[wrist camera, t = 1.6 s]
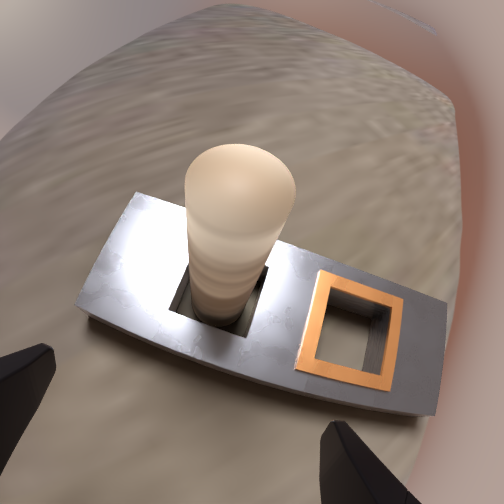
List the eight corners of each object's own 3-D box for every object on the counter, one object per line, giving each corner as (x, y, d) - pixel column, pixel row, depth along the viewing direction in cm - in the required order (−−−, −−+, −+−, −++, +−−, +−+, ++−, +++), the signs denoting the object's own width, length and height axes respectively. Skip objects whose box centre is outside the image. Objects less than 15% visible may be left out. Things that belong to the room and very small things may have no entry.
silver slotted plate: (427, 313, 26) (449, 301, 23) (413, 416, 21) (437, 415, 18) (141, 212, 25) (135, 189, 23) (88, 315, 21) (72, 303, 18)
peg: (240, 330, 22) (292, 241, 10) (187, 321, 22) (171, 218, 10) (247, 281, 24) (297, 155, 12) (197, 272, 24) (199, 136, 12)
